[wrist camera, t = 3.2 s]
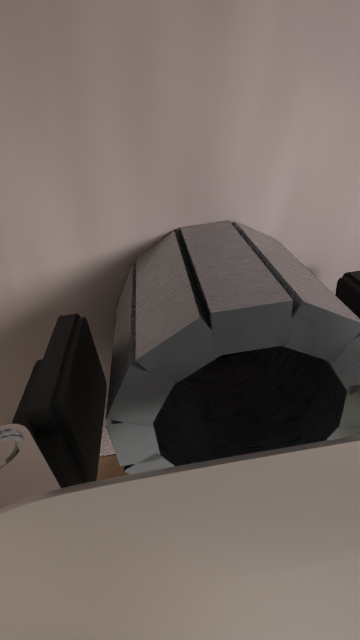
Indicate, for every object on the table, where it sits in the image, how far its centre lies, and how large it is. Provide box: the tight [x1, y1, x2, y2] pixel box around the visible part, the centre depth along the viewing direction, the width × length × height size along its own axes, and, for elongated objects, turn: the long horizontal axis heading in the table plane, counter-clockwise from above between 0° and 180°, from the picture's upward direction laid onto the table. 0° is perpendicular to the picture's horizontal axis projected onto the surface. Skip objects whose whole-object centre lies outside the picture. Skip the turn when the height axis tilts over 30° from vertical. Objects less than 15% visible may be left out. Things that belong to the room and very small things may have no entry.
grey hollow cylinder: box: [106, 221, 360, 474], centre depth 10 cm, size 6×6×5 cm
